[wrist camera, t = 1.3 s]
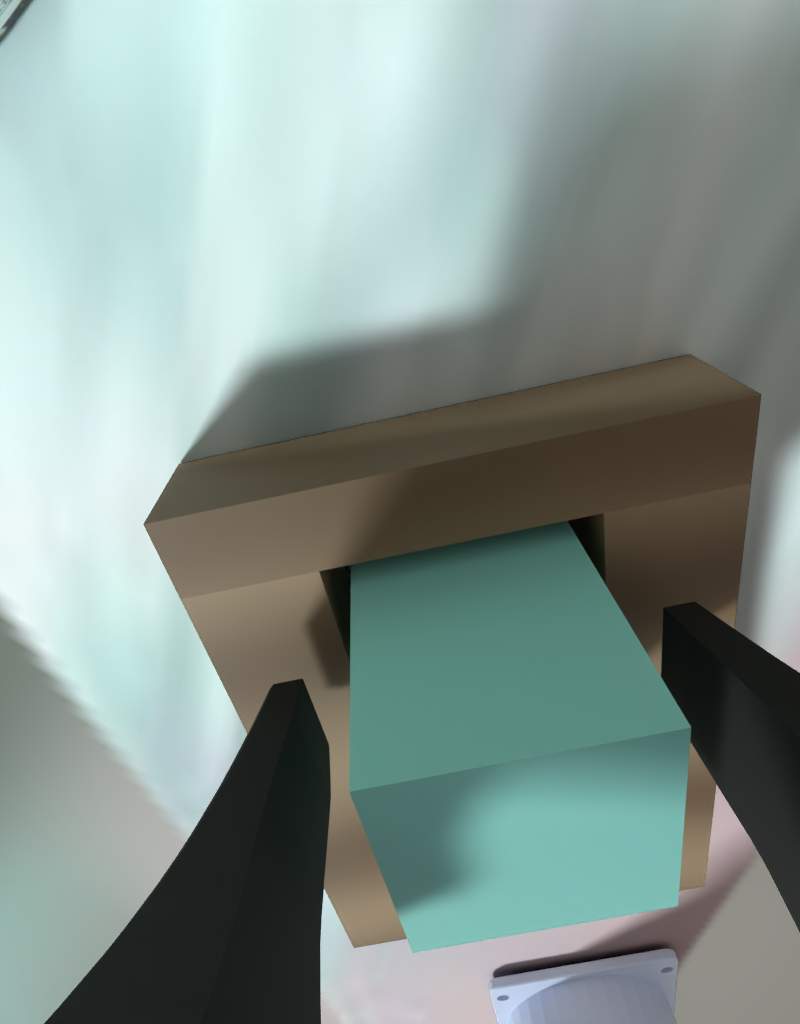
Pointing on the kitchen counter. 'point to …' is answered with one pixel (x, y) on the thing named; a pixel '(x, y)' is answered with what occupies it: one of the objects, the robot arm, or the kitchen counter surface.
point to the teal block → (510, 741)
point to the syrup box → (10, 13)
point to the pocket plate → (453, 519)
